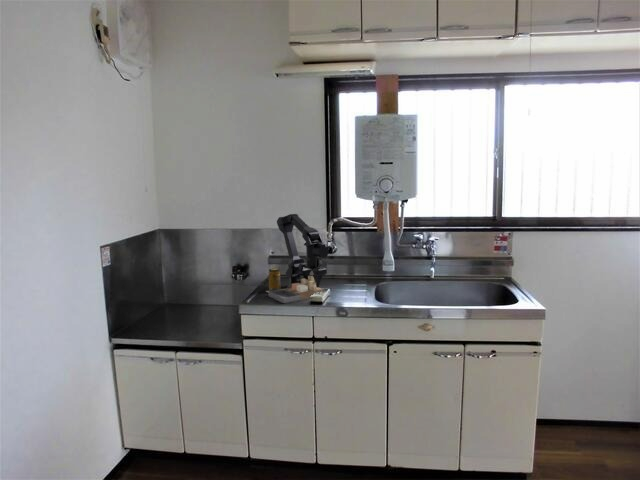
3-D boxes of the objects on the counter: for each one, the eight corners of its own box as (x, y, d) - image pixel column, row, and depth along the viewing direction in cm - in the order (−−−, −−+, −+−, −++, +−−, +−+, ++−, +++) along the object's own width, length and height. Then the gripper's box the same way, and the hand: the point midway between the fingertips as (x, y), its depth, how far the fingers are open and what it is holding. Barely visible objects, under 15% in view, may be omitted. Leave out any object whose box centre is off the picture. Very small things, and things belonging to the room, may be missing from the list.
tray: (268, 296, 227) (268, 291, 226) (284, 293, 231) (284, 288, 231) (284, 303, 213) (283, 298, 213) (300, 300, 218) (300, 295, 218)
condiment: (276, 289, 241) (276, 267, 239) (286, 292, 234) (285, 269, 233) (265, 291, 236) (264, 269, 235) (274, 294, 230) (273, 271, 228)
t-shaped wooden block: (301, 286, 234) (300, 274, 233) (309, 284, 237) (309, 273, 236) (313, 290, 224) (313, 279, 223) (322, 289, 227) (321, 277, 226)
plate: (285, 294, 231) (285, 288, 230) (309, 289, 238) (309, 284, 238) (299, 300, 219) (299, 294, 218) (324, 295, 227) (324, 289, 226)
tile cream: (296, 290, 225) (296, 285, 225) (303, 289, 227) (303, 284, 227) (300, 292, 222) (300, 287, 221) (307, 291, 224) (307, 286, 224)
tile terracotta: (291, 288, 229) (291, 283, 229) (298, 287, 231) (298, 282, 231) (295, 290, 226) (295, 285, 226) (302, 289, 228) (302, 284, 228)
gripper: (335, 255, 225) (336, 286, 227) (315, 251, 240) (316, 279, 243) (316, 258, 219) (317, 290, 221) (297, 253, 234) (298, 282, 237)
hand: (312, 285), depth 231 cm, fingers open, 9 cm apart
